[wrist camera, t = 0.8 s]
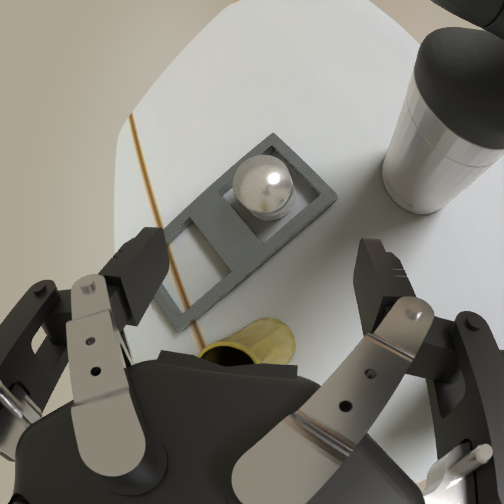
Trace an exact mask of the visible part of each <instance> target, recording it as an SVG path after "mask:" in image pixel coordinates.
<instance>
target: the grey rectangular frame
mask: <svg viewBox="0 0 504 504" xmlns="http://www.w3.org/2000/svg"><path fill="white" fill-rule="evenodd" d="M273 151H275V152H277V153H278V154H279V155H280V156H281V157H282V158H283V159H284V160H285V161H286V162H287V163H288V164H289V165H290V166H291V167H292V168H293V169H294V170H295V171H296V172H297V173H298V174H299V175H300V176H301V177H302V178H303V179H304V180H305V181H306V182H307V183H308V184H309V185H310V186H311V187H312V189H313V190H314V191H315V192H316V193H317V194H318V195H319V197H318V198H316V199H315V200H314V201H313V202H312V203H311V204H309V205H308V206H307V207H306V208H305V209H304V210H302V211H301V212H300V213H299V214H298V215H297V216H296V217H294V218H293V219H292V220H291V221H290V222H289V223H287V224H286V225H285V226H284V227H283V228H282V229H280V230H279V231H278V232H277V233H276V234H275V235H274V236H272V237H271V238H270V239H269V240H268V241H267V242H265V243H264V244H263V243H262V242H261V241H260V240H259V238H258V237H257V236H256V235H255V234H254V232H253V231H252V230H251V229H250V228H249V227H248V225H247V224H246V223H245V222H244V221H243V219H242V218H241V217H240V216H239V215H238V213H237V212H236V211H235V210H234V209H233V208H232V206H231V205H230V204H229V203H228V202H227V200H226V199H225V198H224V197H223V196H222V195H223V194H224V193H225V192H226V191H227V190H228V189H230V188H231V187H232V186H233V191H234V194H235V196H236V198H237V199H238V200H239V201H240V202H241V203H242V204H243V205H244V206H245V207H246V208H247V209H248V210H249V211H250V212H251V213H252V214H253V215H254V216H255V217H257V218H258V219H261V220H264V221H274V220H278V219H280V218H282V217H284V216H285V215H287V214H288V213H289V212H290V210H291V209H292V207H293V206H294V203H295V199H296V192H295V188H294V185H293V182H292V179H291V176H290V173H289V171H288V168H287V167H286V165H285V164H284V163H283V162H282V161H281V160H279V159H278V158H276V157H274V156H270V155H269V154H271V153H272V152H273ZM336 200H337V194H336V193H335V192H334V191H333V190H332V189H331V188H330V187H329V186H328V185H327V184H326V183H325V182H324V181H323V180H322V179H321V178H320V177H319V176H318V175H317V174H316V173H315V172H314V171H313V170H312V169H311V168H310V167H309V166H308V165H307V164H306V163H305V162H304V161H303V160H302V159H301V158H300V157H299V156H298V155H297V154H296V153H295V152H294V151H293V150H292V149H291V148H290V147H288V146H287V145H286V144H285V143H284V142H283V141H282V140H281V139H280V138H279V137H278V136H277V135H275V134H274V133H272V134H270V135H269V136H268V137H267V138H266V139H264V140H263V141H262V142H261V143H259V144H258V145H257V146H256V147H255V148H253V149H252V150H251V151H250V152H249V153H247V154H246V155H245V156H244V157H243V158H242V159H240V160H239V161H238V162H237V163H236V164H235V165H233V166H232V167H231V168H230V169H229V170H228V171H226V172H225V173H224V174H223V175H222V176H221V177H220V178H218V179H217V180H216V181H215V182H214V183H213V184H212V185H211V186H210V187H208V188H207V189H206V190H205V191H204V192H203V193H202V194H201V195H200V196H198V197H197V198H196V199H195V200H194V201H193V202H192V203H191V204H190V205H189V206H188V207H187V208H185V209H184V210H183V211H182V212H181V213H180V214H179V215H178V216H177V217H176V218H175V219H174V220H173V221H172V222H171V223H170V224H169V225H168V226H167V227H166V228H165V229H163V231H164V234H165V240H166V245H168V244H170V243H171V242H172V241H173V240H174V239H175V238H176V237H177V236H178V235H179V234H180V233H181V232H182V231H183V230H184V229H185V228H186V227H188V226H189V225H190V224H191V223H192V222H194V223H195V224H196V226H197V227H198V228H199V229H200V231H201V232H202V233H203V235H204V236H205V237H206V239H207V240H208V241H209V243H210V244H211V245H212V247H213V248H214V249H215V250H216V252H217V253H218V254H219V256H220V257H221V258H222V260H223V261H224V262H225V263H226V265H227V266H228V267H229V269H230V270H231V271H232V272H231V273H229V274H228V275H227V276H226V277H225V278H224V279H222V280H221V281H220V282H219V283H218V284H217V285H216V286H214V287H213V288H212V289H211V290H210V291H209V292H207V293H206V294H205V295H204V296H203V297H202V298H200V299H199V300H198V301H197V302H196V303H195V304H193V305H192V306H191V307H190V308H189V309H188V310H186V311H185V312H184V313H183V314H182V313H181V311H180V310H179V308H178V307H177V306H176V304H175V303H174V301H173V300H172V298H171V297H170V295H169V294H168V292H167V291H166V289H165V288H164V286H163V285H162V284H161V285H160V287H159V289H158V290H157V292H156V294H155V296H154V298H155V300H156V301H157V303H158V304H159V306H160V307H161V309H162V310H163V312H164V313H165V315H166V316H167V318H168V319H169V321H170V322H171V324H172V325H173V327H174V328H175V329H176V331H177V332H179V331H183V330H184V329H186V328H187V327H188V326H189V325H190V324H192V323H193V322H194V321H195V320H196V319H198V318H199V317H200V316H201V315H202V314H204V313H205V312H206V311H207V310H208V309H210V308H211V307H212V306H213V305H214V304H216V303H217V302H218V301H219V300H220V299H221V298H223V297H224V296H225V295H226V294H227V293H229V292H230V291H231V290H232V289H233V288H234V287H236V286H237V285H238V284H239V283H240V282H242V281H243V280H244V279H245V278H246V277H247V276H249V275H250V274H251V273H252V272H253V271H255V270H256V269H257V268H258V267H259V266H260V265H262V264H263V263H264V262H265V261H266V260H267V259H269V258H270V257H271V256H272V255H273V254H274V253H276V252H277V251H278V250H279V249H280V248H281V247H283V246H284V245H285V244H286V243H287V242H288V241H290V240H291V239H292V238H293V237H294V236H295V235H296V234H298V233H299V232H300V231H301V230H302V229H303V228H305V227H306V226H307V225H308V224H309V223H310V222H311V221H313V220H314V219H315V218H316V217H317V216H318V215H320V214H321V213H322V212H323V211H324V210H325V209H326V208H328V207H329V206H330V205H331V204H332V203H333V202H334V201H336Z"/></svg>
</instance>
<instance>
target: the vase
mask: <svg viewBox="0 0 504 504" xmlns="http://www.w3.org/2000/svg"><path fill="white" fill-rule="evenodd" d="M294 351H295V341H294V336H293V334H292V332H291V331H290V329H289V328H288V327H287V326H286V325H285V324H284V323H282V322H281V321H278V320H276V319H272V318H263V319H259V320H256V321H254V322H253V323H251V324H250V325H249V326H247V327H245V328H244V329H242V330H241V331H239V332H237V333H235V334H233V335H231V336H229V337H227V338H225V339H222V340H219V341H216V342H215V343H212V344H210V345H209V346H207V347H205V348H204V349H203V350H202V351H201V352H200V353H199V355H198V356H197V357H199V358H201V359H204V360H207V361H209V362H212V363H215V364H218V365H221V366H225V367H230V366H240V365H250V364H259V363H268V364H282V365H287V364H288V362H289V361H290V360H291V358H292V356H293V354H294Z"/></svg>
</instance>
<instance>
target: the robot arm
mask: <svg viewBox="0 0 504 504" xmlns="http://www.w3.org/2000/svg"><path fill="white" fill-rule="evenodd" d="M431 1H432V2H434V3H435V4H437V5H439V6H441V7H442V8H444V9H445V10H447V11H449V12H451V13H453V14H454V15H456V16H458V17H460V18H462V19H464V20H466V21H468V22H470V23H472V24H474V25H476V26H478V27H481V28H482V29H484V30H486V31H484V30H476V29H469V28H460V27H447V28H441V29H437V30H435V31H433V32H431V33H430V34H428V35H427V36H426V38H425V39H424V40H423V42H422V43H421V46H420V48H419V51H418V55H417V59H416V63H415V66H414V70H413V73H412V77H411V80H410V84H409V87H408V91H407V94H406V97H405V101H404V104H403V107H402V110H401V113H400V116H399V119H398V122H397V125H396V128H395V131H394V134H393V137H392V140H391V142H390V145H389V148H388V151H387V154H386V156H385V159H384V162H383V166H382V178H383V182H384V185H385V188H386V190H387V192H388V194H389V195H390V196H391V198H392V199H393V200H394V201H395V202H396V203H397V204H398V205H399V206H400V207H402V208H404V209H405V210H407V211H410V212H412V213H415V214H430V213H433V212H436V211H438V210H439V209H441V208H442V207H443V206H445V205H446V204H447V203H448V202H449V201H451V200H452V199H453V198H455V197H456V196H457V195H458V194H459V193H460V192H462V191H463V190H464V189H465V188H466V187H468V186H469V185H470V184H471V183H472V182H473V181H474V180H476V179H477V178H478V177H479V176H480V175H481V174H482V173H483V172H485V171H486V170H487V169H488V168H489V167H490V166H491V165H492V164H493V163H494V162H496V161H497V160H498V159H499V158H500V157H501V156H502V155H503V154H504V0H431ZM168 270H169V256H168V251H167V245H166V240H165V234H164V231H163V229H162V228H156V227H145V228H143V229H142V230H141V231H140V233H139V234H138V235H137V236H136V237H135V238H133V239H131V240H129V241H128V242H126V243H125V244H123V246H122V247H121V248H120V249H119V250H118V252H116V253H115V255H114V256H113V258H111V259H110V261H109V262H108V263H107V264H106V265H105V266H104V267H103V269H102V270H101V271H100V272H99V273H98V274H97V275H96V274H92V275H87V276H84V277H82V278H80V279H79V280H77V281H76V282H75V283H74V284H73V286H72V288H71V289H70V290H61V291H58V290H57V287H56V285H55V283H54V282H53V281H52V280H42V281H40V282H37V283H36V284H34V285H33V286H31V288H30V289H29V290H28V291H27V292H26V293H25V294H24V296H23V297H22V298H21V299H20V301H19V302H18V303H17V304H16V305H15V307H14V308H13V309H12V310H11V312H10V313H9V314H8V315H7V317H6V318H5V319H4V321H3V322H2V323H1V325H0V455H1V456H3V457H4V458H5V459H7V460H9V461H15V484H14V491H13V495H12V498H11V500H10V501H9V503H8V504H504V360H503V358H502V355H501V353H500V351H499V348H498V346H497V343H496V341H495V339H494V337H493V334H492V332H491V330H490V328H489V326H488V324H487V322H486V321H485V320H484V319H483V318H482V317H481V316H480V315H478V314H476V313H474V312H470V311H463V312H460V313H459V314H458V315H457V317H456V319H455V321H450V320H446V319H442V318H439V317H436V316H434V311H433V309H432V308H431V306H430V305H429V304H428V303H427V302H425V301H424V300H422V299H419V298H417V297H416V295H415V293H414V290H413V288H412V286H411V284H410V281H409V279H408V277H406V273H405V270H403V266H402V264H401V262H400V260H399V259H398V258H397V257H396V256H395V255H394V254H393V253H391V252H386V251H385V249H384V247H383V245H382V243H381V241H380V239H367V238H362V239H361V240H360V244H359V249H358V254H357V259H356V264H355V269H354V276H353V285H354V290H355V295H356V300H357V304H358V309H359V314H360V319H361V325H362V330H363V335H364V338H363V339H362V340H361V341H360V342H359V344H358V345H357V346H356V347H355V348H354V350H353V351H352V352H351V353H350V354H349V356H348V357H347V358H346V359H345V360H344V361H343V363H342V364H341V365H340V366H339V367H338V368H337V369H336V371H335V372H334V373H333V374H332V375H331V376H330V377H329V378H328V379H327V381H326V382H325V383H324V384H323V385H322V386H320V385H319V384H317V383H315V382H313V381H311V380H309V379H306V378H304V377H301V376H297V368H298V365H282V364H268V363H259V364H250V365H240V366H230V367H225V366H221V365H218V364H215V363H212V362H209V361H207V360H204V359H201V358H199V357H196V356H193V355H189V354H182V353H176V352H170V351H164V350H161V352H160V354H159V357H158V359H157V360H149V361H144V362H140V363H137V364H135V363H134V360H133V357H132V354H131V351H130V347H129V344H128V341H127V337H126V334H125V332H124V327H125V325H131V326H138V324H139V322H140V320H141V319H142V317H143V315H144V313H145V311H146V310H147V308H148V306H149V304H150V303H151V301H152V299H153V297H154V296H155V294H156V292H157V290H158V289H159V287H160V285H161V284H162V282H163V280H164V278H165V277H166V275H167V273H168ZM41 326H42V328H43V330H44V331H45V333H46V335H47V336H46V338H45V339H44V341H43V343H42V344H41V346H40V348H39V349H38V351H37V352H36V354H34V352H33V350H32V348H31V342H32V339H33V337H34V335H35V334H36V332H37V331H38V329H39V328H40V327H41ZM68 361H69V368H70V377H71V384H72V391H73V398H74V400H72V401H70V402H69V403H67V404H65V405H64V406H62V407H60V408H58V409H57V410H55V411H53V412H51V413H49V414H48V415H46V416H44V417H43V418H42V412H43V410H44V408H45V406H46V404H47V402H48V400H49V398H50V396H51V394H52V392H53V390H54V388H55V386H56V384H57V382H58V379H59V378H60V376H61V374H62V373H63V371H64V369H65V367H66V365H67V363H68ZM405 374H409V375H413V376H418V377H422V378H426V383H427V388H428V394H429V399H430V405H431V411H432V417H433V424H434V432H435V439H436V448H437V458H438V461H437V462H435V463H434V464H433V465H432V467H431V468H430V470H429V472H428V475H427V482H426V487H425V489H424V492H423V493H422V492H421V490H420V489H419V487H418V486H417V485H416V484H415V483H414V482H413V481H412V480H411V479H410V478H409V476H408V475H407V474H406V473H405V472H404V471H403V470H402V469H401V468H400V467H399V466H398V465H397V464H396V463H395V462H394V461H393V460H392V459H391V458H390V457H389V456H388V455H387V454H386V452H385V451H384V450H383V449H382V448H381V447H380V446H379V445H378V444H377V443H376V442H375V441H374V440H373V439H372V438H371V437H370V435H369V434H368V433H367V431H368V430H369V429H370V427H371V426H372V424H373V423H374V422H375V420H376V419H377V417H378V416H379V414H380V413H381V411H382V410H383V408H384V407H385V405H386V404H387V402H388V401H389V399H390V398H391V396H392V395H393V393H394V391H395V390H396V388H397V386H398V385H399V383H400V382H401V380H402V378H403V376H404V375H405ZM463 377H464V378H463Z"/></svg>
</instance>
